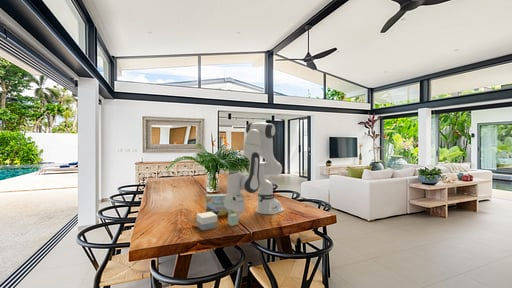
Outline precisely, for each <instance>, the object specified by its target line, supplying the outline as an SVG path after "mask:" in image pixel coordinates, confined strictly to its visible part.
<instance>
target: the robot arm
mask: <svg viewBox="0 0 512 288" xmlns="http://www.w3.org/2000/svg"><path fill="white" fill-rule="evenodd" d="M245 133H246V136H245V138H244V139H245V140H244V145H243V155H244V156H245V157H246V158H247V159H248V161H249V165H248V166H249V167H248V171H249V174H248V175H245V174H243V173H241V172H240V171H239V170H233V171H230V172H229V173H228V174H227V179H226V185H227V186H226V187H227V190H226V193H225V194H226V196H225V199H224V207H225V208H227V211H228V215H230V214H232V213H231V210H232V211H235V213H236V215H237V216H236V219H238V220H239V219H240V216H241V214H244V212H245V207H246V206H245V205H246V203H245V200H246V198H245V196H244V195H243V194H242V193H241V190H243V191H246V192H248V193H249V194H255V193H257V192H258V193H257V207H256V213H258V214H263V215H275V214H278V213H282V212H284V211H285V208H284V207H282V205H281V202H280V201H279V200H278V199H276V198H275V197H277V193H273V190H274V188H273V182H272V181H270V180H268V179H266V178H265V177H271V176H272V177H275V176H279V175H281V173H282V172H283V166H282V164H281V163H280V162H279V161H278V160H277V159H276V158H275V156H274V141H273V140H274V139H273V137H274V136H275V135H276V126H275V125H274V124H273V123H270V122H269V123H267V122H249V123H248V124H247V125H246V127H245ZM260 157H261V158H263V159H264V160H266V161H260V160H261V158H260ZM228 215H227V216H228Z"/></svg>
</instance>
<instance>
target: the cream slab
mask: <svg viewBox="0 0 512 288" xmlns="http://www.w3.org/2000/svg"><path fill="white" fill-rule="evenodd" d="M196 220H197V221H198V222H200V223H201V224H202V225H203V224H208V223H213V222H217V223H218V215H216V214H214V213H213V212H206V211H205V212H202V213H196Z"/></svg>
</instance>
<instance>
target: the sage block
mask: <svg viewBox="0 0 512 288" xmlns="http://www.w3.org/2000/svg"><path fill="white" fill-rule="evenodd" d="M236 216H237V213H235V214H230V215H227V224H228V225H229V226H231V227H233V226H238V225H239V219H236Z"/></svg>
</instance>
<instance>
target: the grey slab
mask: <svg viewBox="0 0 512 288" xmlns="http://www.w3.org/2000/svg"><path fill="white" fill-rule="evenodd" d="M195 221H196V227H197V228H198V227H199V228H198V229H199V230H203V231H207V230H211V229H216V228H218V221H217V222H213V223H208V224H203V225H202V224H201V223H200V222H198V221H197V219H196V220H195Z"/></svg>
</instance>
